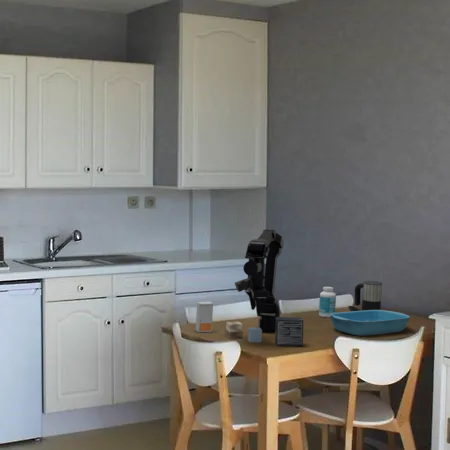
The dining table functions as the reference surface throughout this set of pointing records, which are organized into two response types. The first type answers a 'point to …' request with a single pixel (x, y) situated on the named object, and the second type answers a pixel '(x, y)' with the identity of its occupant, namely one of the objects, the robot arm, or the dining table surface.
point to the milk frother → (368, 296)
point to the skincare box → (204, 317)
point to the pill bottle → (327, 302)
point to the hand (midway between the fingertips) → (255, 311)
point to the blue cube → (255, 334)
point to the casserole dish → (369, 322)
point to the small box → (289, 331)
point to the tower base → (233, 334)
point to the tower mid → (234, 326)
